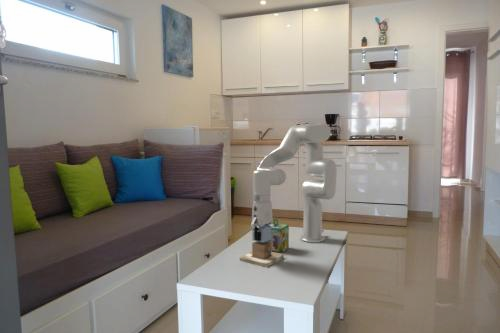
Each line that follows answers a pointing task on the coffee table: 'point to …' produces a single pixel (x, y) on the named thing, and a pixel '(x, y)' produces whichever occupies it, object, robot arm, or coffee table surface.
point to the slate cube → (264, 233)
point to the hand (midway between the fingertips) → (261, 238)
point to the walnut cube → (261, 249)
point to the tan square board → (260, 261)
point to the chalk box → (279, 236)
